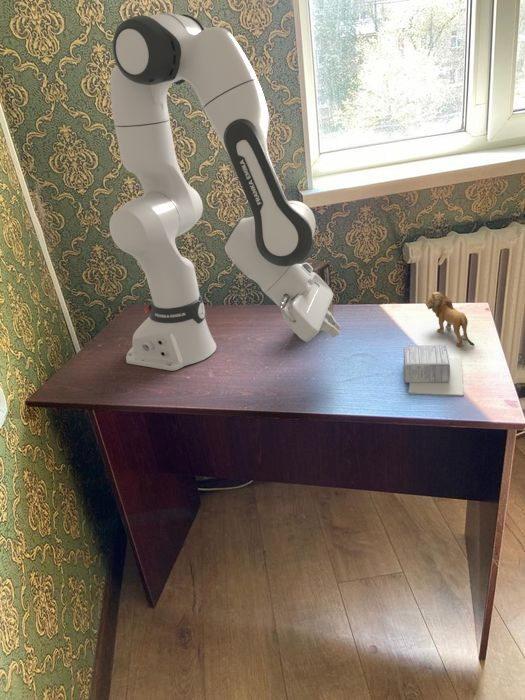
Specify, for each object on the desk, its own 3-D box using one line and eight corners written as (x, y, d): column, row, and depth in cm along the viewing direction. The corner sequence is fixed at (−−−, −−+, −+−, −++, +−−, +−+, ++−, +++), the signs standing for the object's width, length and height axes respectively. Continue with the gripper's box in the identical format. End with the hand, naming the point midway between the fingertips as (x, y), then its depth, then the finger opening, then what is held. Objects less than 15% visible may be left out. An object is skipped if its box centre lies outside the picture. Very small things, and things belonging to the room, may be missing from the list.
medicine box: (404, 383, 108) (449, 383, 106) (404, 363, 106) (450, 364, 104) (403, 363, 114) (446, 363, 112) (403, 344, 112) (447, 344, 110)
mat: (408, 393, 105) (408, 392, 105) (412, 358, 117) (412, 356, 116) (463, 396, 102) (463, 394, 102) (460, 359, 114) (461, 358, 113)
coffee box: (313, 316, 141) (308, 258, 134) (334, 320, 138) (330, 261, 130) (294, 331, 135) (287, 271, 128) (316, 336, 132) (311, 274, 124)
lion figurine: (421, 327, 129) (422, 292, 125) (439, 321, 130) (440, 286, 126) (464, 351, 116) (467, 313, 112) (484, 344, 118) (487, 306, 114)
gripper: (288, 296, 99) (341, 347, 101) (309, 260, 116) (354, 303, 118) (266, 317, 102) (318, 365, 104) (290, 278, 119) (334, 320, 121)
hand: (337, 332), depth 111 cm, fingers closed
